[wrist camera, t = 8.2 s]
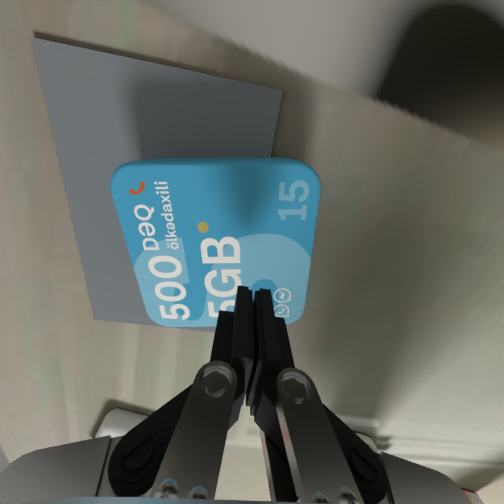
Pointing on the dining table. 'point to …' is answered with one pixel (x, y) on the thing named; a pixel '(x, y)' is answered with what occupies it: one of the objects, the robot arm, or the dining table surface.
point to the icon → (119, 423)
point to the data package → (217, 233)
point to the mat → (137, 146)
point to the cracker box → (472, 497)
